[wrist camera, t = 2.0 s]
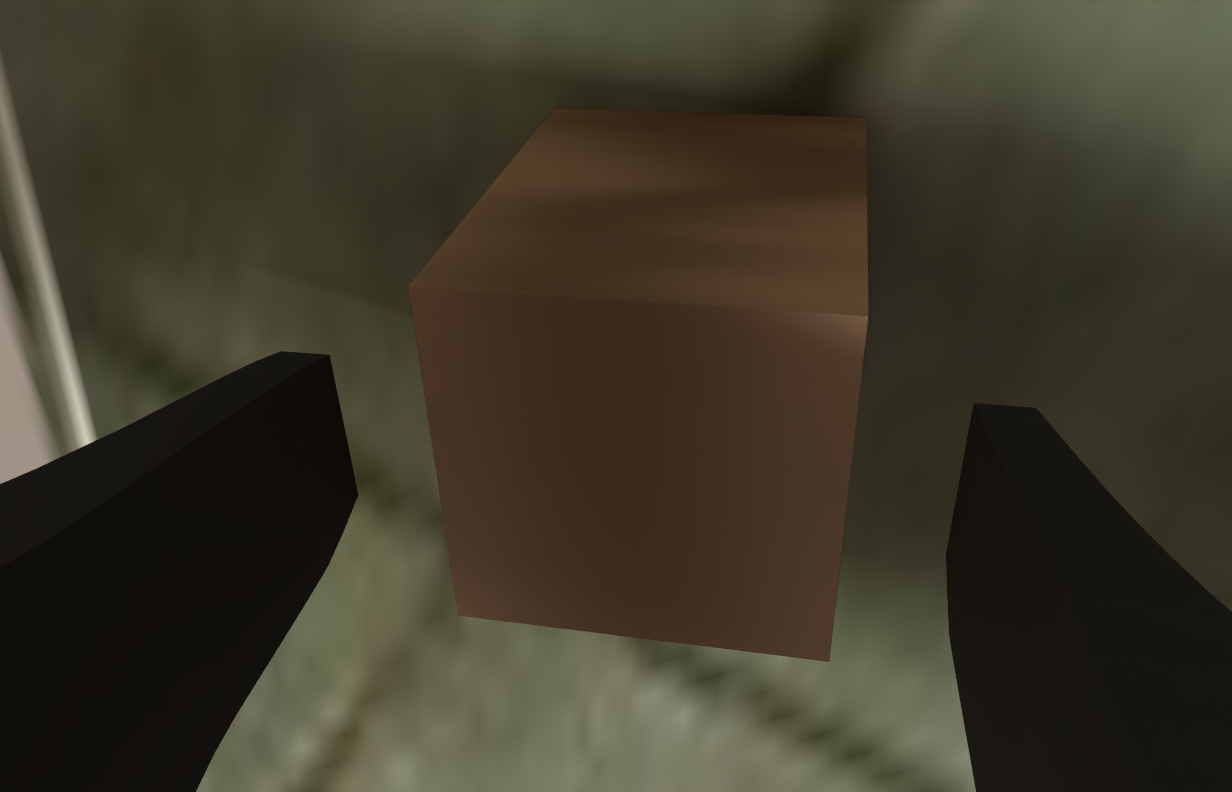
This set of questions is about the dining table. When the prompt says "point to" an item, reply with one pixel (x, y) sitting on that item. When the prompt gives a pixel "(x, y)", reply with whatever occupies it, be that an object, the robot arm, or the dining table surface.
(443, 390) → the walnut block
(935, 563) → the dining table surface
